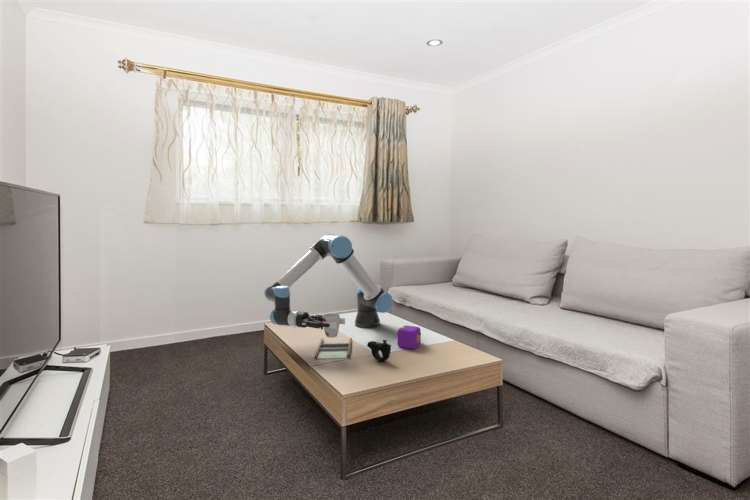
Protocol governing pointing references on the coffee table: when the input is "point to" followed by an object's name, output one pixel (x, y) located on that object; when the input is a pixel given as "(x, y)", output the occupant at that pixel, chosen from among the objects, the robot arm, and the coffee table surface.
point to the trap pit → (334, 347)
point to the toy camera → (409, 337)
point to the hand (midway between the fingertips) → (340, 323)
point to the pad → (332, 354)
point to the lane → (322, 343)
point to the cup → (331, 318)
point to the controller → (382, 347)
